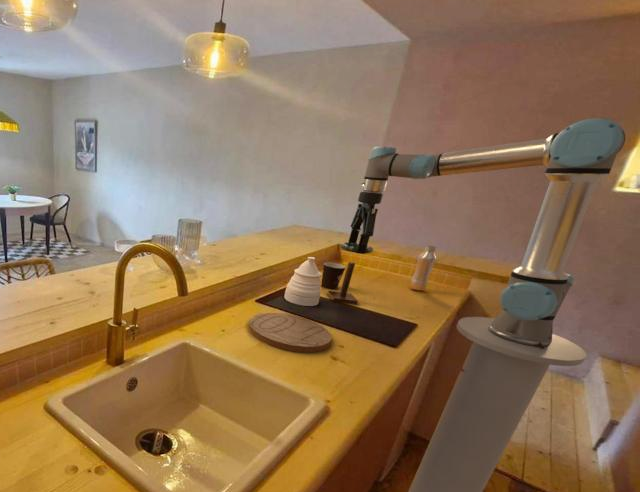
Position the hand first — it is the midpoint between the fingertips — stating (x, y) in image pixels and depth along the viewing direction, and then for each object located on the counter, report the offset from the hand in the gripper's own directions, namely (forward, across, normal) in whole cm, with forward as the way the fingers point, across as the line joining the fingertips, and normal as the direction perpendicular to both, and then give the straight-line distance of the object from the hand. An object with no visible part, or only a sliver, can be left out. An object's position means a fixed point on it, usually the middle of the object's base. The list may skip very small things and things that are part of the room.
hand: (355, 249), depth 152 cm
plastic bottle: (+21, -26, +38) cm, 51 cm away
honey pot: (+21, +7, -17) cm, 28 cm away
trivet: (+21, +42, -27) cm, 54 cm away
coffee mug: (+21, -16, 0) cm, 26 cm away
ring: (-1, 0, 0) cm, 1 cm away
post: (+21, 0, 0) cm, 21 cm away
